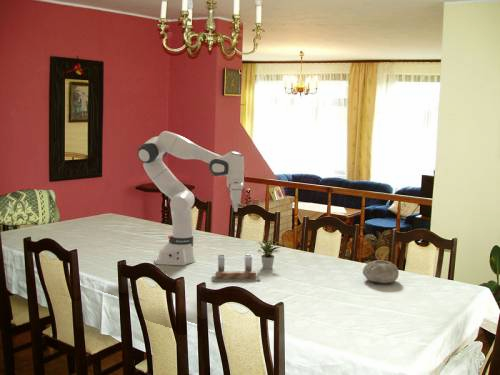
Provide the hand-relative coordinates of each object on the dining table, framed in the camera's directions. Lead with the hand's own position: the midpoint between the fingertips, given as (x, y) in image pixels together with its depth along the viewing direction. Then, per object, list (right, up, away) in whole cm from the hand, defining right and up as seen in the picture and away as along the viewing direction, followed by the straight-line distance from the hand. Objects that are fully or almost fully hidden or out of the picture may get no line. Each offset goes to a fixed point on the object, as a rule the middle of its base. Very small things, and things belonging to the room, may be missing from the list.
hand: (234, 209), depth 310 cm
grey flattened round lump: (+74, -36, -6) cm, 82 cm away
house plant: (+17, -32, +14) cm, 39 cm away
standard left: (-7, -33, -1) cm, 34 cm away
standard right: (+7, -34, +1) cm, 34 cm away
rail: (+1, -34, -8) cm, 35 cm away
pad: (+1, -35, -8) cm, 36 cm away
